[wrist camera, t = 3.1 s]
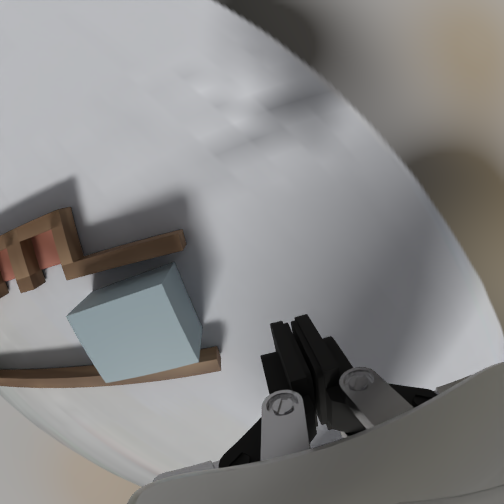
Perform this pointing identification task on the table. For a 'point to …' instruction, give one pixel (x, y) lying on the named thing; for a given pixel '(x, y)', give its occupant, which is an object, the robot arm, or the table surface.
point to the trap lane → (77, 265)
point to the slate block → (139, 325)
